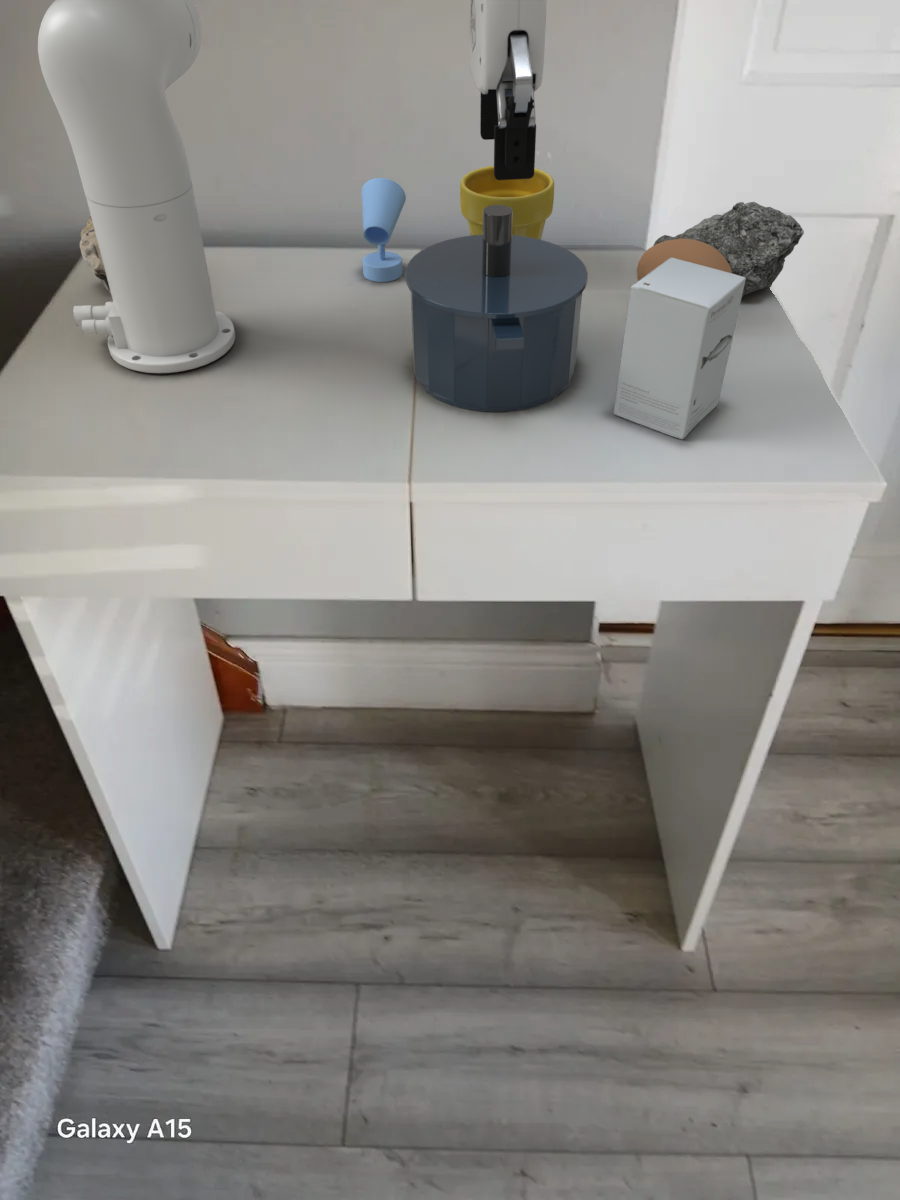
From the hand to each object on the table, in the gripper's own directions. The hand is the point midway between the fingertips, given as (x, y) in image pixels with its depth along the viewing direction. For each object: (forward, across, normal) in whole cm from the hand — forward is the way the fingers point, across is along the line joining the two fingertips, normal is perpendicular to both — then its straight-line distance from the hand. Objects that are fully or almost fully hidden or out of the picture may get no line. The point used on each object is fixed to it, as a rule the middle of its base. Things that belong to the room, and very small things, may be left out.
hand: (505, 157), depth 81 cm
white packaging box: (+20, +9, +14) cm, 26 cm away
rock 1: (+20, -22, -39) cm, 49 cm away
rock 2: (+14, -14, +25) cm, 32 cm away
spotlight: (+20, -23, -11) cm, 32 cm away
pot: (+20, 0, -1) cm, 20 cm away
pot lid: (+10, 0, -1) cm, 10 cm away
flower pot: (+20, -23, +3) cm, 31 cm away
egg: (+16, -6, +24) cm, 29 cm away
